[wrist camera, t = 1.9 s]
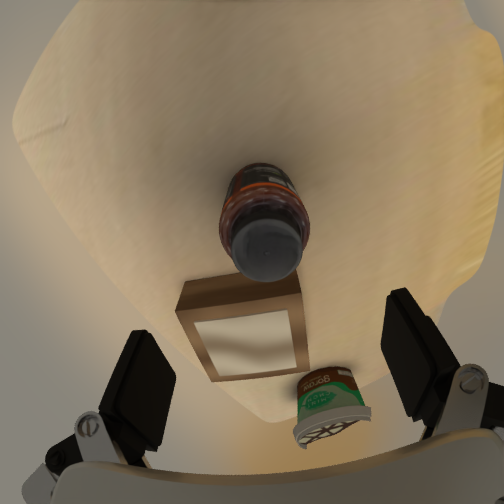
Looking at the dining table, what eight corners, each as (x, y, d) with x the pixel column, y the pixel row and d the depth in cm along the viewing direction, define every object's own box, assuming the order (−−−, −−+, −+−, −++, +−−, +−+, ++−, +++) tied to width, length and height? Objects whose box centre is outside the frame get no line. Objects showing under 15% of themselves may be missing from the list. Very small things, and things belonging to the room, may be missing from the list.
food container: (335, 350, 35) (351, 410, 26) (358, 364, 37) (374, 419, 28) (273, 388, 40) (275, 443, 31) (298, 399, 42) (303, 450, 33)
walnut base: (185, 281, 30) (174, 312, 25) (294, 263, 28) (301, 294, 24) (215, 352, 35) (211, 383, 31) (304, 340, 34) (310, 372, 29)
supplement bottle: (237, 228, 27) (227, 304, 17) (221, 169, 24) (196, 215, 14) (298, 216, 26) (324, 286, 16) (287, 155, 23) (312, 190, 13)
